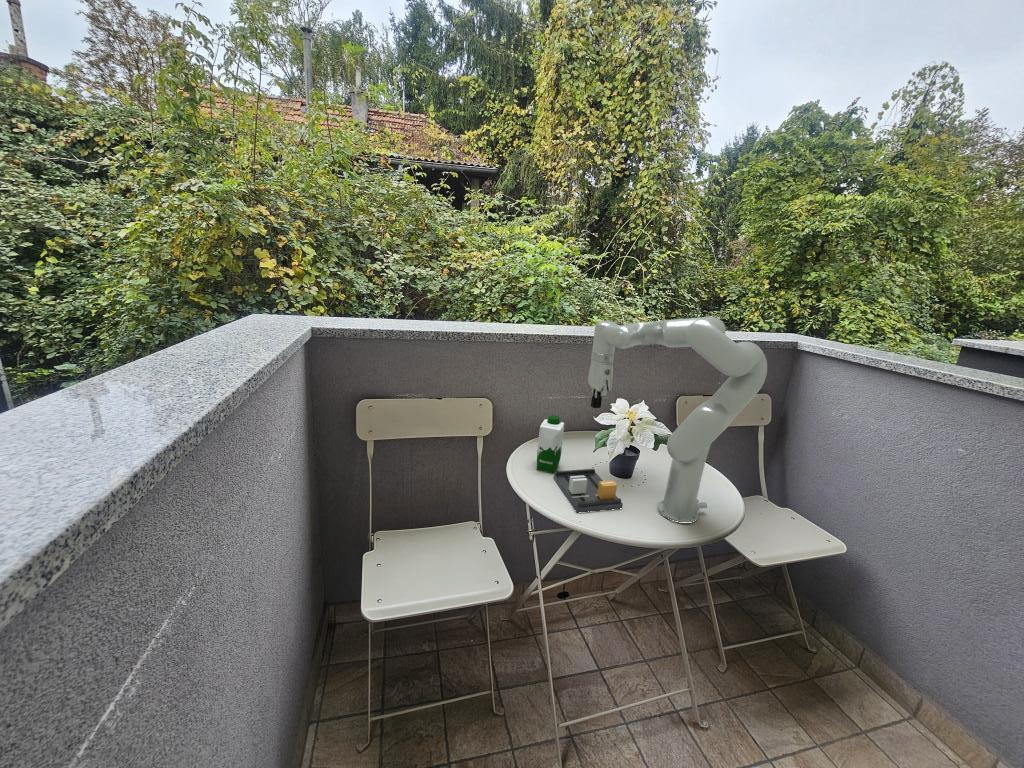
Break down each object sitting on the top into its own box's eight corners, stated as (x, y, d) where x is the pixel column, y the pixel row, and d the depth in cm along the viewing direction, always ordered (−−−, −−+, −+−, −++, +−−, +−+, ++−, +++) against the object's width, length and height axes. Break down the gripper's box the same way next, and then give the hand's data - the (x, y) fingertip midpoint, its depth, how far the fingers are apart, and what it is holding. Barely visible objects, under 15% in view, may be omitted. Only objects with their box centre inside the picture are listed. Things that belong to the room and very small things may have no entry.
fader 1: (582, 488, 151) (583, 474, 150) (585, 493, 149) (587, 479, 147) (568, 489, 150) (570, 475, 149) (571, 494, 147) (573, 480, 146)
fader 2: (610, 493, 149) (612, 479, 148) (614, 498, 147) (617, 484, 145) (597, 494, 148) (599, 481, 147) (601, 499, 145) (603, 485, 144)
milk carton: (561, 465, 171) (566, 417, 165) (556, 475, 163) (562, 425, 157) (539, 460, 174) (544, 413, 168) (533, 470, 166) (538, 421, 160)
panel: (593, 475, 165) (594, 467, 164) (622, 508, 145) (623, 500, 144) (553, 478, 161) (554, 470, 160) (577, 513, 141) (578, 504, 140)
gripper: (622, 363, 146) (614, 414, 152) (602, 352, 160) (596, 399, 165) (602, 363, 144) (594, 415, 150) (583, 352, 158) (577, 400, 163)
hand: (595, 407), depth 157 cm, fingers closed
